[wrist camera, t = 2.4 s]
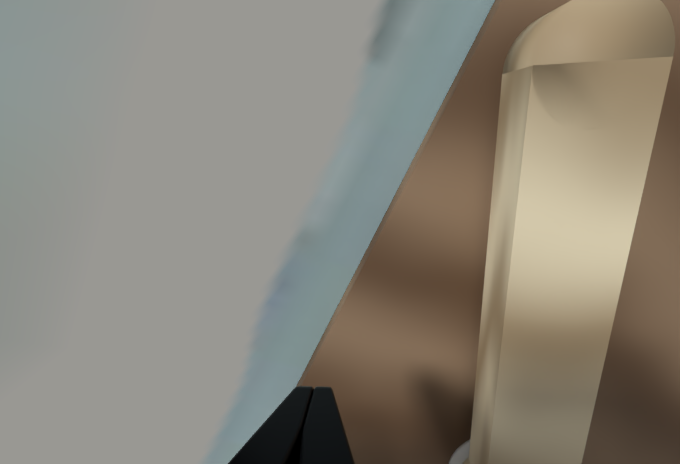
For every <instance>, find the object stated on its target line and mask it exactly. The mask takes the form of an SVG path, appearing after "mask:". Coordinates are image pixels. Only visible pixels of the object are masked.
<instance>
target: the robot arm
mask: <svg viewBox="0 0 680 464" xmlns="http://www.w3.org/2000/svg"><path fill="white" fill-rule="evenodd" d="M228 464H355V462H354V458H353V455H352V452H351V448H350V445H349V442H348V438H347V435H346V432H345V428H344V425H343V422H342V419H341V415H340V412H339V409H338V405H337V402H336V399H335V395H334V392H333V389H332V388H331V387H322V386H317V387H315V388H313V387H312V386H297V387H295V388H294V389H293V391H292V392H291V393H290V394H289V395H288V396H287V397H286V399H285V400H284V401H283V402H282V403H281V404H280V405H279V406H278V408H277V409H276V410H275V411H274V412H273V413H272V414H271V415H270V417H269V418H268V419H267V420H266V421H265V422H264V423H263V425H262V426H261V427H260V428H259V429H258V430H257V431H256V432H255V434H254V435H253V436H252V437H251V438H250V439H249V440H248V442H247V443H246V444H245V445H244V446H243V447H242V448H241V449H240V451H239V452H238V453H237V454H236V455H235V456H234V457H233V458H232V460H231V461H230V462H229V463H228Z"/></svg>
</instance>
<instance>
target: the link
mask: <svg viewBox="0 0 680 464" xmlns="http://www.w3.org/2000/svg"><path fill="white" fill-rule="evenodd" d="M674 49H675V31H674V25H673V21H672V18H671V16H670V13H669V11H668V10H667V8H666V6H665V5H664V3H663V2H662V1H661V0H571V1H569V2H567V3H565V4H564V5H562V6H560V7H558V8H557V9H555V10H553V11H551V12H549V13H548V14H546V15H544V16H542V17H541V18H539V19H537V20H535V21H534V22H533V23H531V24H530V25H529V26H528V27H527V28H525V29H524V30H523V31H522V32H521V34H520V35H519V36H518V37H517V38H516V40H515V41H514V43H513V44H512V46H511V48H510V50H509V52H508V54H507V57H506V59H505V63H504V66H503V73H502V83H501V94H500V106H499V117H498V129H497V140H496V152H495V163H494V174H493V186H492V197H491V209H490V220H489V232H488V243H487V254H486V266H485V277H484V289H483V300H482V312H481V323H480V334H479V346H478V357H477V369H476V380H475V392H474V403H473V414H472V426H471V437H470V449H469V458H467V459H466V460H465V461H464V462H463V463H462V464H581V463H582V459H583V454H584V450H585V446H586V441H587V437H588V432H589V428H590V423H591V419H592V415H593V410H594V406H595V401H596V397H597V392H598V388H599V384H600V379H601V375H602V370H603V366H604V361H605V357H606V353H607V348H608V344H609V339H610V335H611V330H612V326H613V322H614V317H615V313H616V308H617V304H618V299H619V295H620V291H621V286H622V282H623V277H624V273H625V268H626V264H627V260H628V255H629V251H630V246H631V242H632V237H633V233H634V228H635V224H636V220H637V215H638V211H639V206H640V202H641V197H642V193H643V189H644V184H645V180H646V175H647V171H648V166H649V162H650V158H651V153H652V149H653V144H654V140H655V135H656V131H657V127H658V122H659V118H660V113H661V109H662V104H663V100H664V96H665V91H666V87H667V82H668V78H669V73H670V69H671V65H672V60H673V55H674Z"/></svg>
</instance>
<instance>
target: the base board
mask: <svg viewBox="0 0 680 464" xmlns="http://www.w3.org/2000/svg"><path fill="white" fill-rule="evenodd" d="M569 1H571V0H495V2H494V4H493V6H492V8H491V10H490V12H489V13H488V15H487V17H486V19H485V21H484V23H483V25H482V27H481V29H480V31H479V33H478V35H477V37H476V39H475V41H474V43H473V45H472V46H471V48H470V50H469V52H468V54H467V56H466V58H465V60H464V62H463V64H462V66H461V68H460V70H459V72H458V74H457V76H456V78H455V79H454V81H453V83H452V85H451V87H450V89H449V91H448V93H447V95H446V97H445V99H444V101H443V103H442V105H441V107H440V109H439V111H438V112H437V114H436V116H435V118H434V120H433V122H432V124H431V126H430V128H429V130H428V132H427V134H426V136H425V138H424V140H423V142H422V144H421V145H420V147H419V149H418V151H417V153H416V155H415V157H414V159H413V161H412V163H411V165H410V167H409V169H408V171H407V173H406V175H405V177H404V179H403V180H402V182H401V184H400V186H399V188H398V190H397V192H396V194H395V196H394V198H393V200H392V202H391V204H390V206H389V208H388V210H387V212H386V213H385V215H384V217H383V219H382V221H381V223H380V225H379V227H378V229H377V231H376V233H375V235H374V237H373V239H372V241H371V243H370V245H369V246H368V248H367V250H366V252H365V254H364V256H363V258H362V260H361V262H360V264H359V266H358V268H357V270H356V272H355V274H354V276H353V278H352V279H351V281H350V283H349V285H348V287H347V289H346V291H345V293H344V295H343V297H342V299H341V301H340V303H339V305H338V307H337V309H336V311H335V312H334V314H333V316H332V318H331V320H330V322H329V324H328V326H327V328H326V330H325V332H324V334H323V336H322V338H321V340H320V342H319V344H318V345H317V347H316V349H315V351H314V353H313V355H312V357H311V359H310V361H309V363H308V365H307V367H306V369H305V371H304V373H303V375H302V377H301V378H300V380H299V382H298V384H297V386H312V387H313V388H315V387H317V386H322V387H331V388H332V389H333V392H334V395H335V399H336V402H337V405H338V409H339V412H340V415H341V419H342V422H343V425H344V428H345V432H346V435H347V438H348V442H349V445H350V448H351V452H352V455H353V458H354V462H355V464H449V460H450V458H451V456H452V455H453V453H454V452H455V451H456V449H457V448H458V447H459V446H461V445H462V444H463V443H465V442H466V441H468V440H470V437H471V426H472V414H473V403H474V392H475V380H476V369H477V357H478V346H479V334H480V323H481V312H482V300H483V289H484V277H485V266H486V254H487V243H488V232H489V220H490V209H491V197H492V186H493V174H494V163H495V152H496V140H497V129H498V117H499V106H500V94H501V83H502V73H503V66H504V63H505V59H506V57H507V54H508V52H509V50H510V48H511V46H512V44H513V43H514V41H515V40H516V38H517V37H518V36H519V35H520V34H521V32H522V31H523V30H524V29H525V28H527V27H528V26H529V25H530V24H531V23H533V22H534V21H535V20H537V19H539V18H541V17H542V16H544V15H546V14H548V13H549V12H551V11H553V10H555V9H557V8H558V7H560V6H562V5H564V4H565V3H567V2H569ZM661 1H662V2H663V3H664V5H665V6H666V8H667V10H668V11H669V13H670V16H671V18H672V21H673V25H674V31H675V49H674V55H673V60H672V65H671V69H670V73H669V78H668V82H667V87H666V91H665V96H664V100H663V104H662V109H661V113H660V118H659V122H658V127H657V131H656V135H655V140H654V144H653V149H652V153H651V158H650V162H649V166H648V171H647V175H646V180H645V184H644V189H643V193H642V197H641V202H640V206H639V211H638V215H637V220H636V224H635V228H634V233H633V237H632V242H631V246H630V251H629V255H628V260H627V264H626V268H625V273H624V277H623V282H622V286H621V291H620V295H619V299H618V304H617V308H616V313H615V317H614V322H613V326H612V330H611V335H610V339H609V344H608V348H607V353H606V357H605V361H604V366H603V370H602V375H601V379H600V384H599V388H598V392H597V397H596V401H595V406H594V410H593V415H592V419H591V423H590V428H589V432H588V437H587V441H586V446H585V450H584V454H583V459H582V463H581V464H680V0H661ZM297 386H296V387H297Z"/></svg>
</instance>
